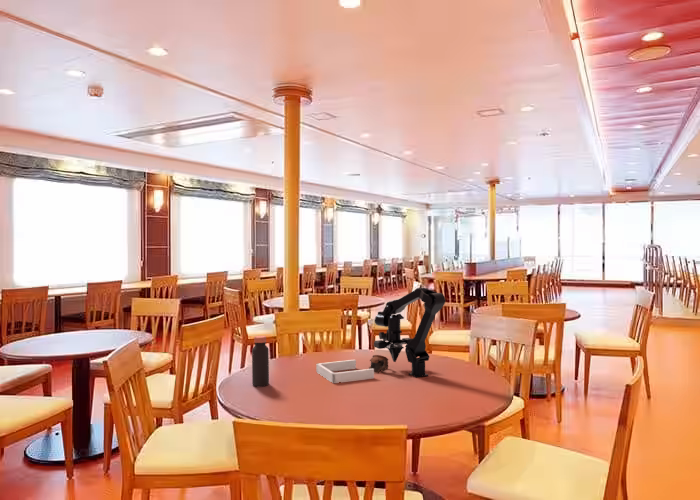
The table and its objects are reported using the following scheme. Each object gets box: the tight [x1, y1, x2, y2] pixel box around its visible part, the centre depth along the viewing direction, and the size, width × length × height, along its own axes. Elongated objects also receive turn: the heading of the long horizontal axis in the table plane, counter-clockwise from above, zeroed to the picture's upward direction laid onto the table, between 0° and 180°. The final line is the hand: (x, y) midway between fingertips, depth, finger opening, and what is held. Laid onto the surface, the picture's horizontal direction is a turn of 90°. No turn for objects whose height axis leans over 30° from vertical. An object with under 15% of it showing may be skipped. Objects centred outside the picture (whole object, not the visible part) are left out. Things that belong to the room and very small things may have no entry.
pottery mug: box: [368, 354, 389, 374], centre depth 229 cm, size 12×10×8 cm
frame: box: [315, 359, 375, 384], centre depth 221 cm, size 20×19×4 cm
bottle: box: [251, 335, 270, 387], centre depth 207 cm, size 7×7×20 cm
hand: (394, 361), depth 231 cm, fingers closed
